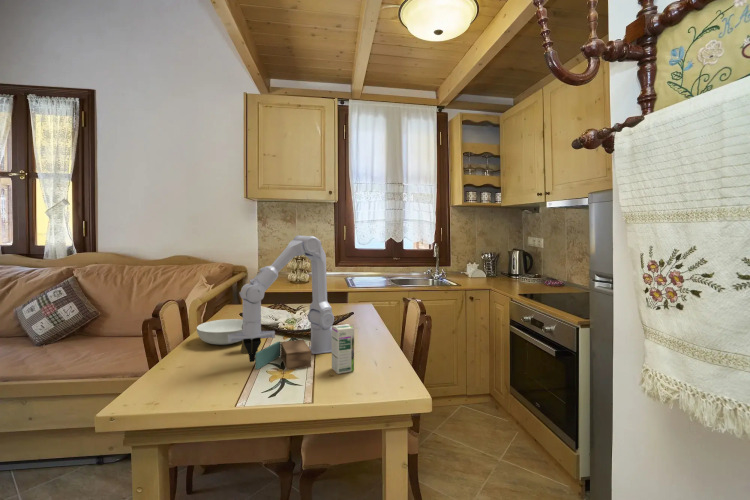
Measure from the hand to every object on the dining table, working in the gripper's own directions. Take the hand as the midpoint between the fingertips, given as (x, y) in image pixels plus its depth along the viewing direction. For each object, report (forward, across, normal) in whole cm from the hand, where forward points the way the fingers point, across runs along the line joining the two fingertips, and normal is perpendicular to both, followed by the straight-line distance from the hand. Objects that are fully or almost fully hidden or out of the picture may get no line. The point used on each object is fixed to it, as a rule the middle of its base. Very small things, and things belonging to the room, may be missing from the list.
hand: (251, 360), depth 119 cm
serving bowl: (+2, +8, -31) cm, 32 cm away
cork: (+2, 0, -16) cm, 16 cm away
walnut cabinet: (+2, -14, +1) cm, 14 cm away
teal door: (+2, -5, -2) cm, 6 cm away
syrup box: (+2, -27, +13) cm, 30 cm away
